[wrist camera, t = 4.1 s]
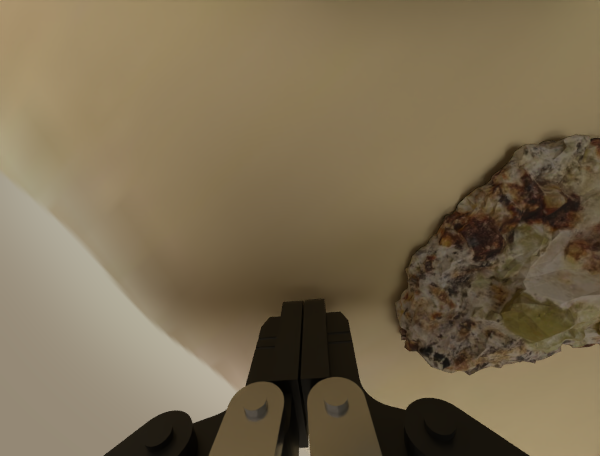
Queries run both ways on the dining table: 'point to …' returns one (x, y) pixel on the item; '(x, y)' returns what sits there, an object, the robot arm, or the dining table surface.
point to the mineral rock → (512, 265)
